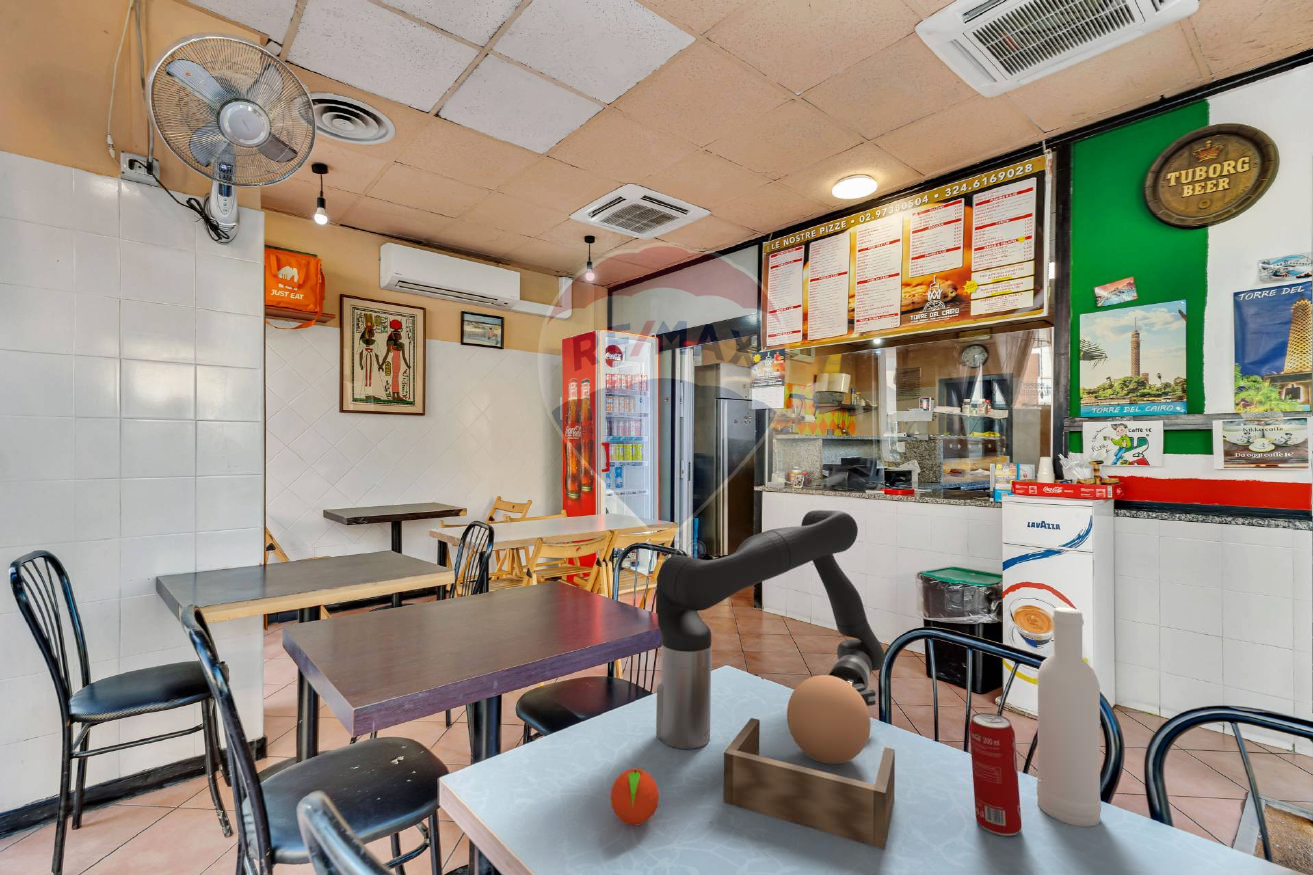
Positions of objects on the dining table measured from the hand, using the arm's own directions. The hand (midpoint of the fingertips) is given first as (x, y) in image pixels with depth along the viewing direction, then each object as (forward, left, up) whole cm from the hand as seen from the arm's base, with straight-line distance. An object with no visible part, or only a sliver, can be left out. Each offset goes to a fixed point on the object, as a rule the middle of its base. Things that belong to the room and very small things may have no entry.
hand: (834, 707), depth 111 cm
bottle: (+35, -6, -6) cm, 36 cm away
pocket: (0, -21, -6) cm, 21 cm away
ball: (0, -7, +1) cm, 7 cm away
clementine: (-21, -39, -6) cm, 44 cm away
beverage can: (+25, -15, -6) cm, 30 cm away
